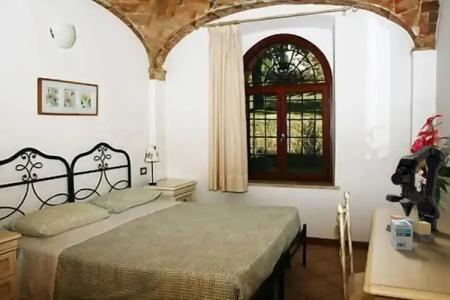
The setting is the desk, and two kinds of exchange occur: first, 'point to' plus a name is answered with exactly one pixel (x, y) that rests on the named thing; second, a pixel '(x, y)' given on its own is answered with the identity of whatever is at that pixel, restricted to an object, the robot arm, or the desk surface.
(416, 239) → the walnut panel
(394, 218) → the peach cube
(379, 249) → the desk surface
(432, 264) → the desk surface
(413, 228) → the pale blue cube
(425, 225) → the yellow cube
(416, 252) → the desk surface
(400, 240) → the light bulb box
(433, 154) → the robot arm
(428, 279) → the desk surface
